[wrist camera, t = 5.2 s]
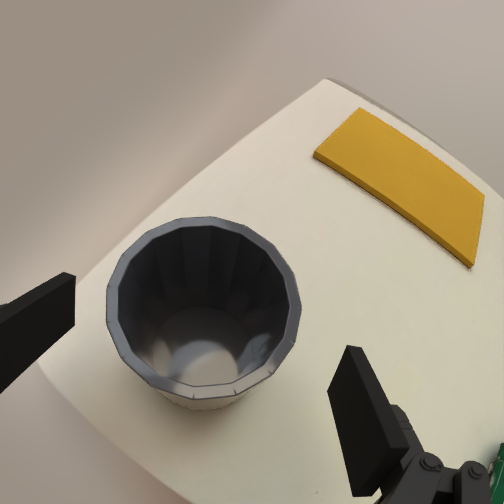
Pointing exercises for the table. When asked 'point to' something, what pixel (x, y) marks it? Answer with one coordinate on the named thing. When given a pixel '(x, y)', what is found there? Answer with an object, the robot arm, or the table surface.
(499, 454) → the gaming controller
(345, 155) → the mat
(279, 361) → the steel tumbler
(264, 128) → the table surface
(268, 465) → the table surface
